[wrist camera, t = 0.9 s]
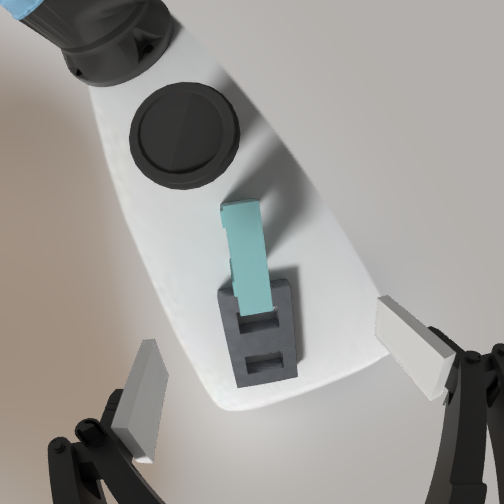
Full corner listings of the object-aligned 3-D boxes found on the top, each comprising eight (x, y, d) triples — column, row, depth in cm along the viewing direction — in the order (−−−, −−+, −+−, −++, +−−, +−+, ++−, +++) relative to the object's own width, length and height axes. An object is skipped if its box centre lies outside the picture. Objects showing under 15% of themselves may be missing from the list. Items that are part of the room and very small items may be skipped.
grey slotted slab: (217, 290, 36) (217, 298, 34) (285, 278, 37) (290, 285, 34) (236, 377, 40) (237, 388, 38) (294, 367, 41) (297, 376, 38)
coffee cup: (241, 127, 31) (256, 88, 17) (223, 193, 33) (225, 203, 19) (174, 113, 30) (142, 69, 15) (157, 178, 32) (110, 179, 17)
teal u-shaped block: (219, 198, 33) (218, 207, 23) (249, 193, 33) (262, 200, 23) (232, 276, 36) (237, 316, 25) (260, 272, 36) (276, 310, 25)
